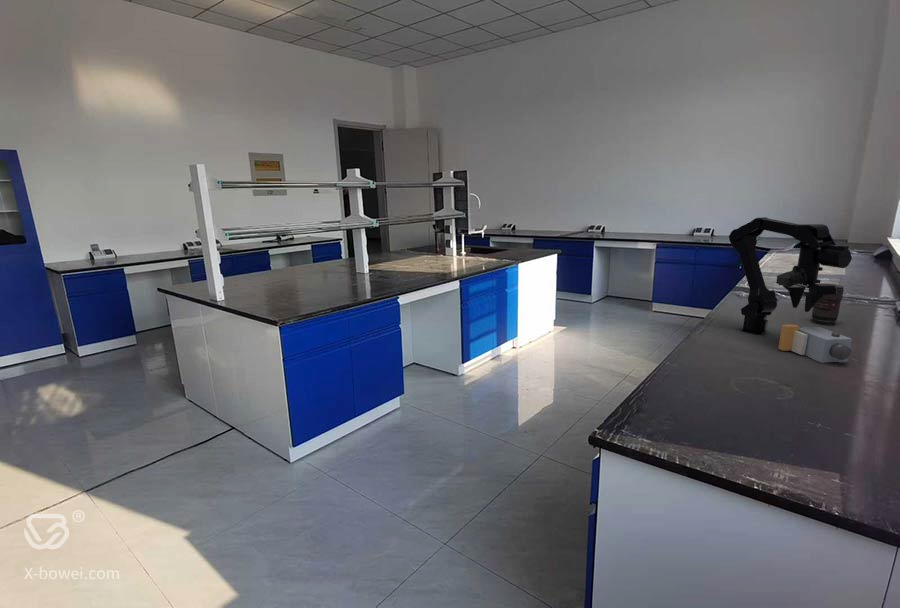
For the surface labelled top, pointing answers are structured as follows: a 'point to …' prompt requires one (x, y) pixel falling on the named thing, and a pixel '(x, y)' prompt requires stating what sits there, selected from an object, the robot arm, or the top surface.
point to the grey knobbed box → (826, 345)
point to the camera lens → (828, 307)
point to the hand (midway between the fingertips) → (800, 309)
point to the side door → (792, 339)
